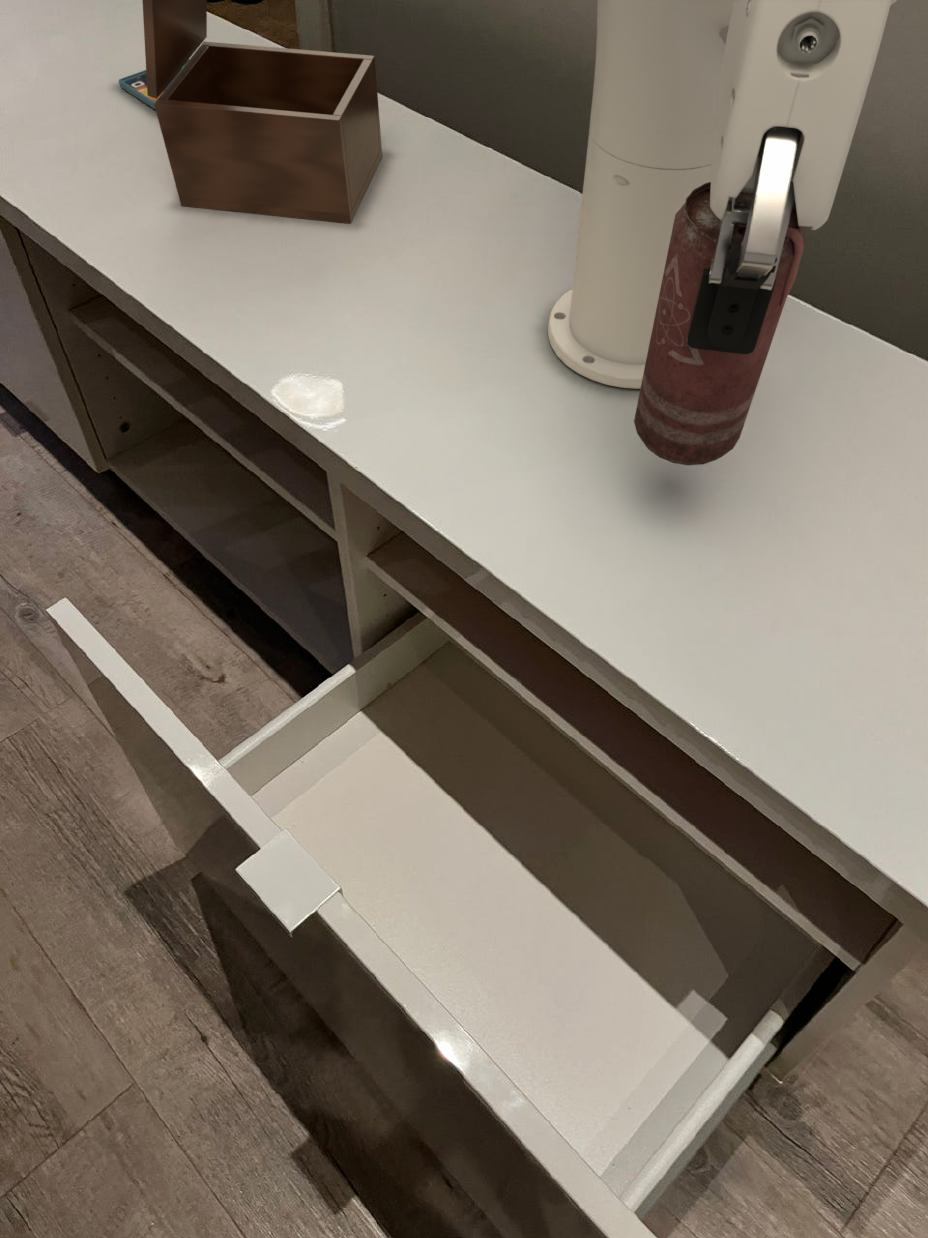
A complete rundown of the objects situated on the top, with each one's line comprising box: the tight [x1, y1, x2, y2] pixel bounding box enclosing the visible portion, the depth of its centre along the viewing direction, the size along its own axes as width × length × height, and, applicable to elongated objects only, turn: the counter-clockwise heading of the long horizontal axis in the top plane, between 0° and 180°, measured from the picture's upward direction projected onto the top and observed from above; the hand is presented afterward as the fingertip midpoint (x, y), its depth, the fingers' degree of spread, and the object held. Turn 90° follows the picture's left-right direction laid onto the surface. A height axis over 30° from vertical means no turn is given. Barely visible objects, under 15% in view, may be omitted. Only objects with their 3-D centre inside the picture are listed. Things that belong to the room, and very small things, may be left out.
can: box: [633, 182, 806, 466], centre depth 48 cm, size 6×6×14 cm
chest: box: [154, 41, 383, 224], centre depth 81 cm, size 16×12×9 cm
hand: (722, 300), depth 46 cm, fingers closed on can, 6 cm apart
